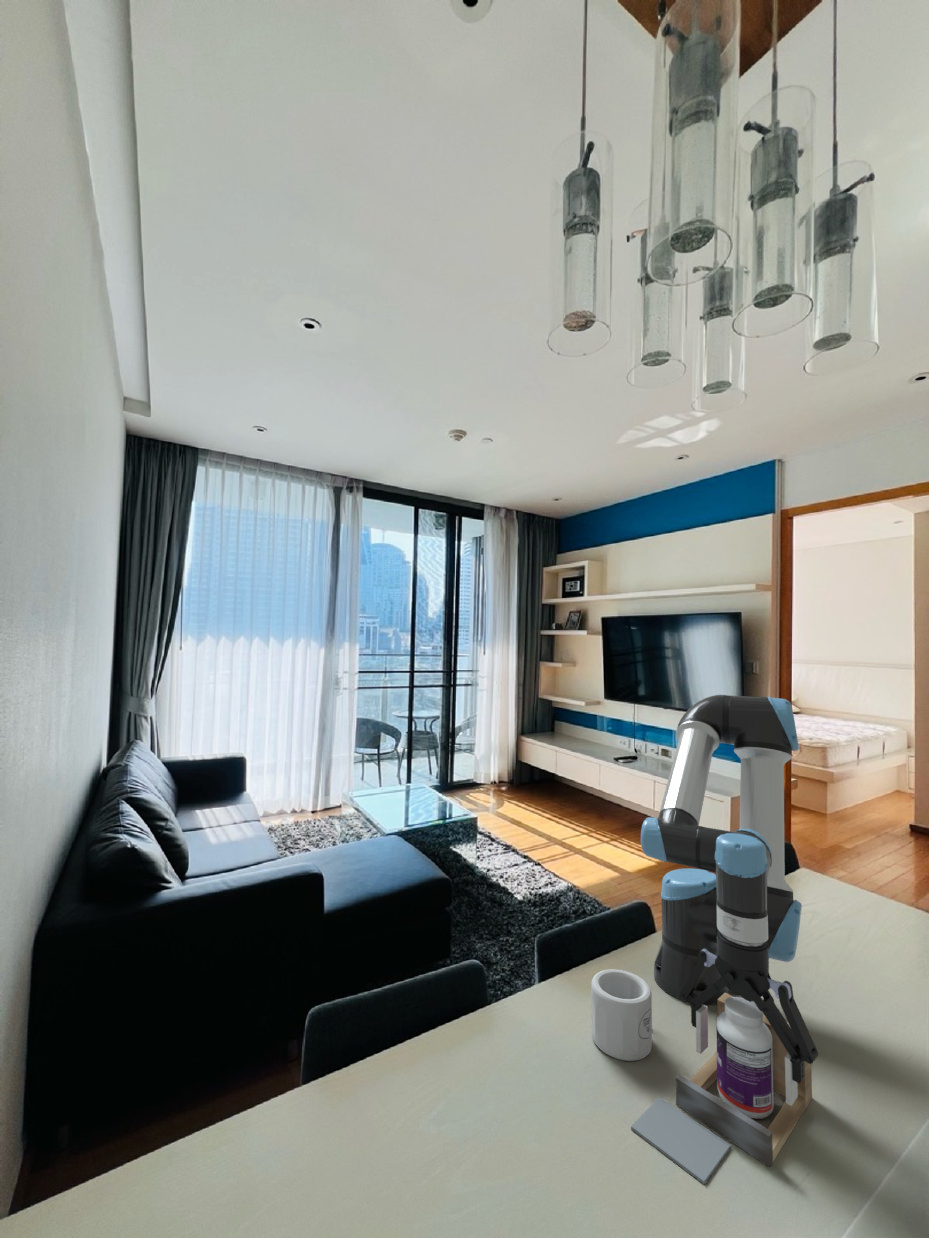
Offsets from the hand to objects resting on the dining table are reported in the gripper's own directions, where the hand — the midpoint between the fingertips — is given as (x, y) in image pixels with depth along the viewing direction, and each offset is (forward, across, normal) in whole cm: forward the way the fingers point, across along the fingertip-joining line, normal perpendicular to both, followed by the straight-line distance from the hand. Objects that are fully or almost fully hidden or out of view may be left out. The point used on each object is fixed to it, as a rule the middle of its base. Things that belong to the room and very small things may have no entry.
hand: (744, 1073), depth 86 cm
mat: (+4, -4, -14) cm, 15 cm away
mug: (+4, -20, -2) cm, 21 cm away
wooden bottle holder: (+4, 0, -1) cm, 4 cm away
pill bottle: (+4, 0, 0) cm, 4 cm away
